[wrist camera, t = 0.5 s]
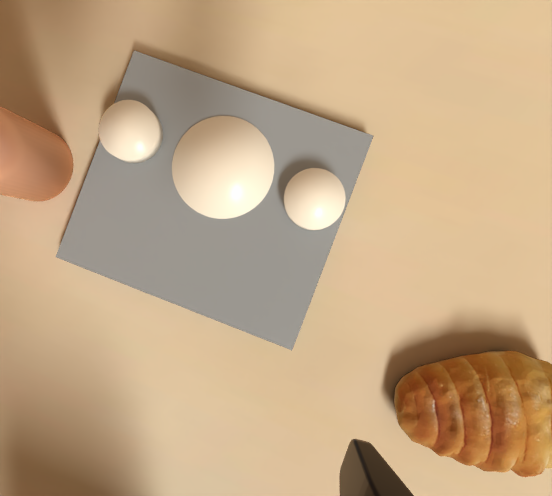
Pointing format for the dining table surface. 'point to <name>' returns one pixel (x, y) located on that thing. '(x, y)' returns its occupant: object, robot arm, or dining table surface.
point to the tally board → (214, 198)
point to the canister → (31, 159)
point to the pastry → (481, 410)
